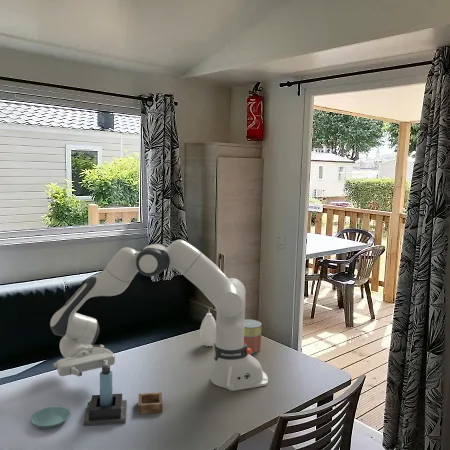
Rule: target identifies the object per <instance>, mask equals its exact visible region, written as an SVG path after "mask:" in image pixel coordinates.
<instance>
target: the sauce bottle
mask: <svg viewBox="0 0 450 450" xmlns="http://www.w3.org/2000/svg"><path fill="white" fill-rule="evenodd" d="M210 311H211V310H210V308H208V312H207V313H206V314H205V316H204V317H203V319H202V321H201V325H200V327H199V339H200V341H201V343H202V344H203V345H204V346H205V347H208V346H209V347H211V346H213V345H214V344H215V341H216V320H215V318H214V316H213V314H212V313H211V312H210Z"/></svg>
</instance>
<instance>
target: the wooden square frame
mask: <svg viewBox="0 0 450 450" xmlns="http://www.w3.org/2000/svg"><path fill="white" fill-rule="evenodd" d="M137 404H138V406H137V407H138V415H143V414H144V415H145V414H146V415H147V414H156V413H157V414H158V413H161V414H162V413H163V408H164V405H163V404H164V402H163V393H162V392H148V393H147V392H145V393H138V403H137Z"/></svg>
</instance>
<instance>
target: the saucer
mask: <svg viewBox="0 0 450 450" xmlns="http://www.w3.org/2000/svg"><path fill="white" fill-rule="evenodd" d="M70 416H71V410H70V409H69V408H67V407H64V406H49V407H46V408H42V409H39V410H38V411H35V413H33V414H32V415H31V417H30V422H31V423H32V424H33V425H35V426H37V427H39V428H41V429H42V428H43V429H51V428H55V427H58V426H60V425H61V424H64V422H66V421H67V419H69V418H70Z"/></svg>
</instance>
